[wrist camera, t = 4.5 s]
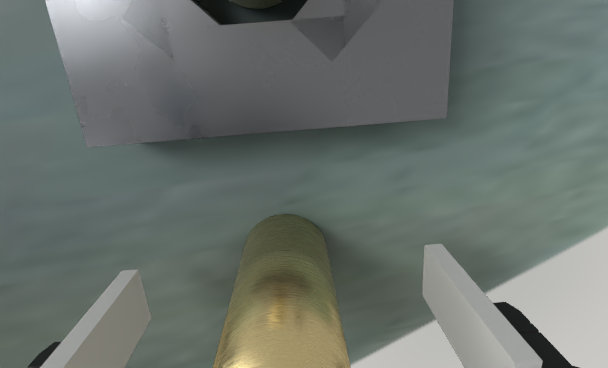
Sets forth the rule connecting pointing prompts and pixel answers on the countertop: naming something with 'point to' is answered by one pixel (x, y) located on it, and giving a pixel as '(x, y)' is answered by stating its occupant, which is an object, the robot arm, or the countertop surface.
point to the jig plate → (250, 67)
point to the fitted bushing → (256, 3)
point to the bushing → (283, 302)
